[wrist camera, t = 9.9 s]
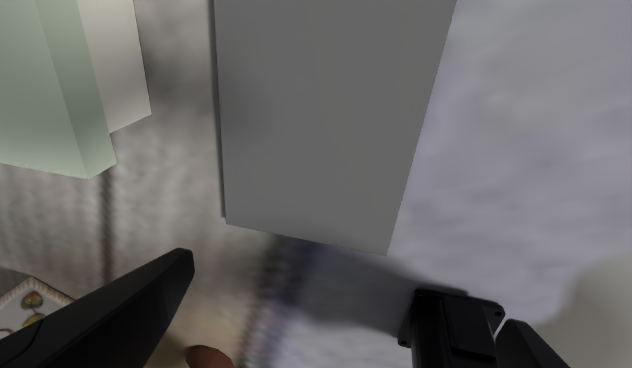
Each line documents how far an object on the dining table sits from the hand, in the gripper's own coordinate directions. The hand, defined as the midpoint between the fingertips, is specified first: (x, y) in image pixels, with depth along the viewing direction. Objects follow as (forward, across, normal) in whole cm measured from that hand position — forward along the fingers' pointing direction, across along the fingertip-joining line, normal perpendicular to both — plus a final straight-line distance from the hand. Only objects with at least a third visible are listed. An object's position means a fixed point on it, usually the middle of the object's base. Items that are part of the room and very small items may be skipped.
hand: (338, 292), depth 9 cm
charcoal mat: (+12, +3, -1) cm, 12 cm away
